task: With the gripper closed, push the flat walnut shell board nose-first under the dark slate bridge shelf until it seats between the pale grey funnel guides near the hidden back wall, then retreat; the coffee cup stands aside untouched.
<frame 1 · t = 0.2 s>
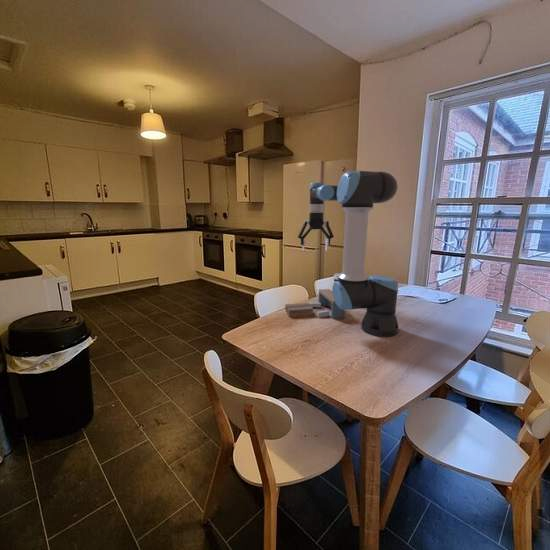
hand: (315, 250, 165), 28 cm above the table, fingers open, 13 cm apart
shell: (298, 313, 146), on the table
coffee cup: (340, 300, 167), on the table
bridge shelf: (323, 311, 149), on the table
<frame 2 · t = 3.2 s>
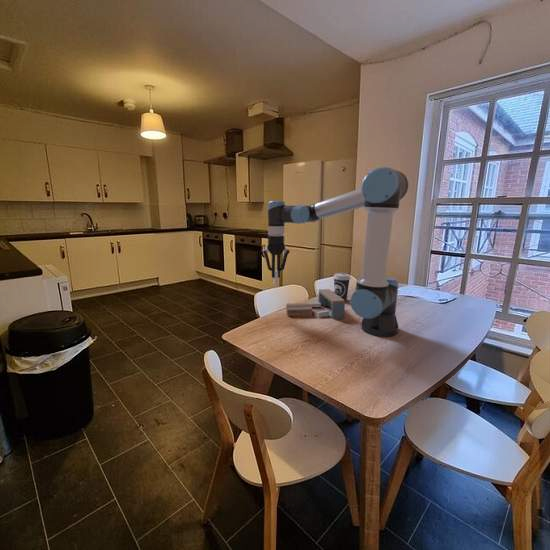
hand: (275, 284, 141), 16 cm above the table, fingers closed
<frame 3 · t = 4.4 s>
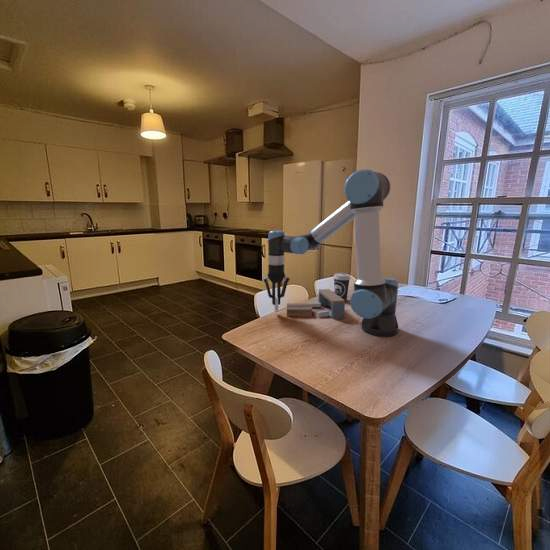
hand: (276, 310, 144), 2 cm above the table, fingers closed
nothing on the table moved.
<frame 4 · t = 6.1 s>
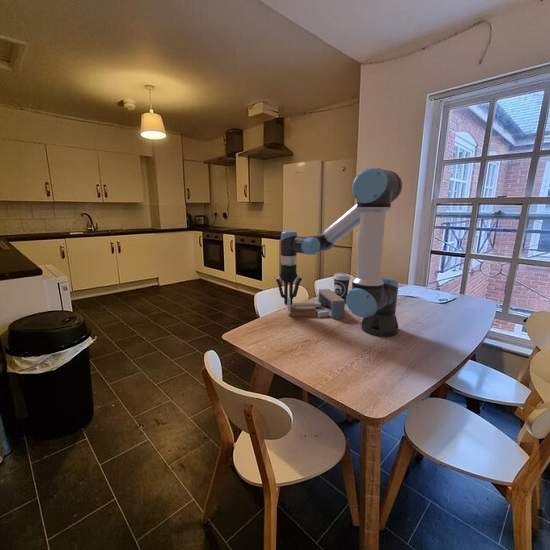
hand: (288, 310, 145), 2 cm above the table, fingers closed
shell: (302, 313, 147), on the table
everything else where it was.
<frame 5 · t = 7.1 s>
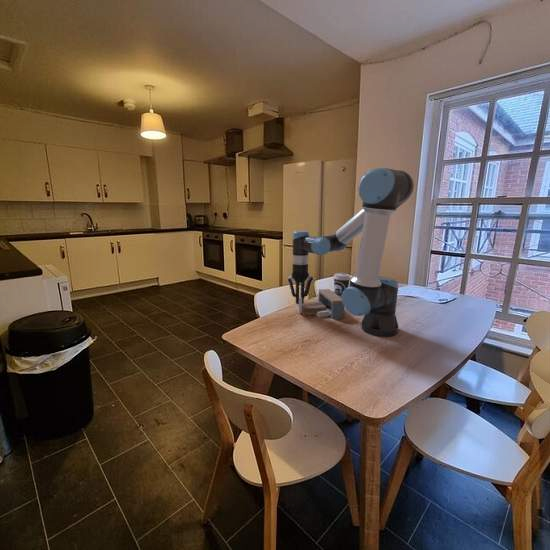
hand: (299, 309, 146), 2 cm above the table, fingers closed
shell: (311, 312, 148), on the table, touching gripper
everything else where it was.
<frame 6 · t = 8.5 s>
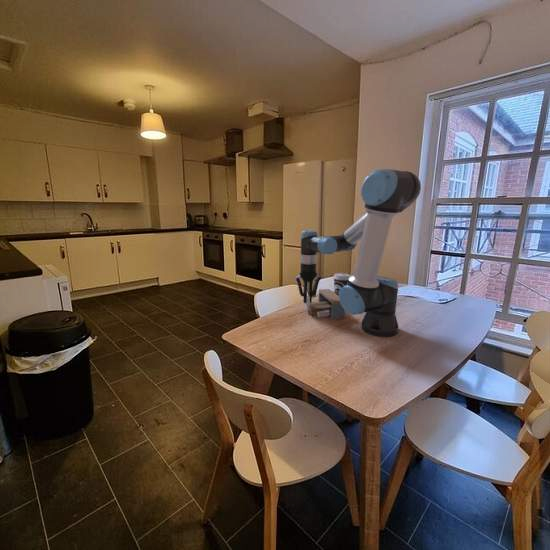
hand: (307, 308, 147), 2 cm above the table, fingers closed
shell: (319, 312, 149), on the table
everything else where it was.
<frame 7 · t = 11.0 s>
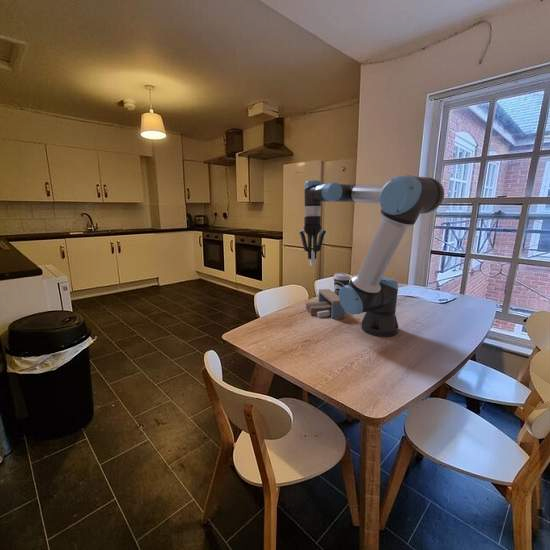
hand: (312, 265, 140), 24 cm above the table, fingers closed
nothing on the table moved.
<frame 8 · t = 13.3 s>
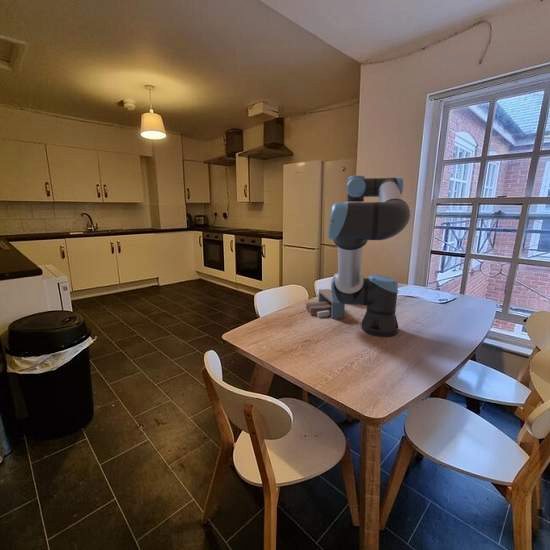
hand: (352, 260, 141), 26 cm above the table, fingers closed
nothing on the table moved.
at the end: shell 0.6 cm from the target spot, on the table; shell tilted 0° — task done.
